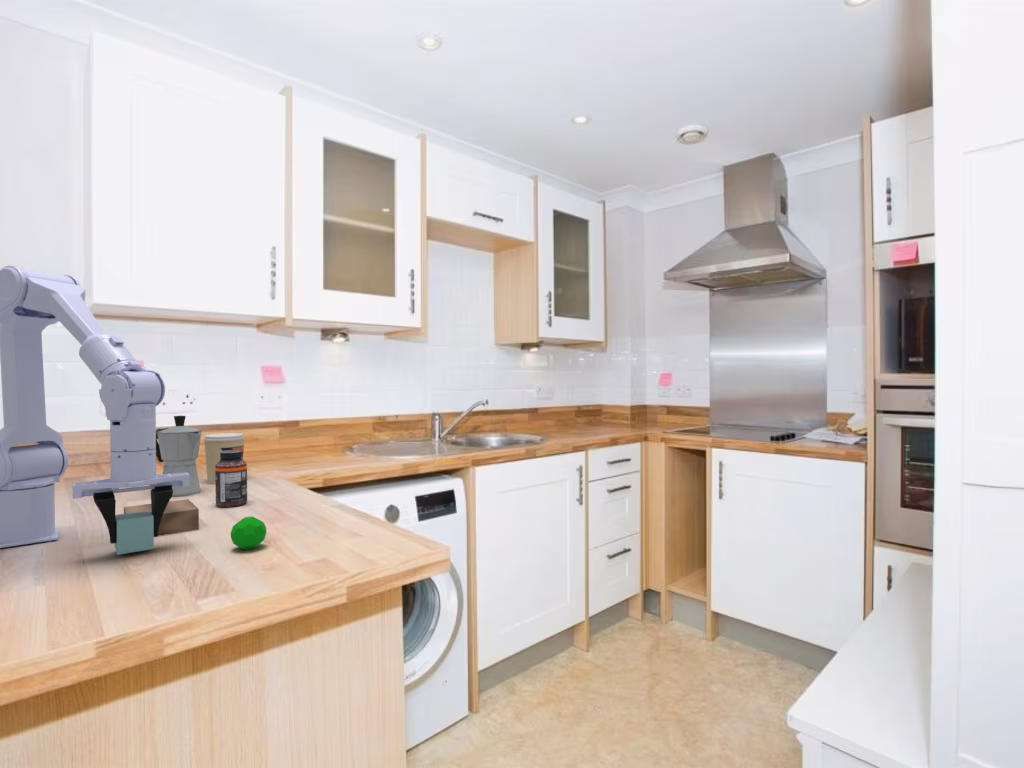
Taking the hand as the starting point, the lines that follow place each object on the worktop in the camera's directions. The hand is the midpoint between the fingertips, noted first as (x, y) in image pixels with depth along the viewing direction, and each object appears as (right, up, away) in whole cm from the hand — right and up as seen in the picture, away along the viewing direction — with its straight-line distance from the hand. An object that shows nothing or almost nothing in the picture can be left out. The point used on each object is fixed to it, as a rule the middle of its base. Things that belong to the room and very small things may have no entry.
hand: (134, 538), depth 83 cm
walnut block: (-4, -2, +13) cm, 14 cm away
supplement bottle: (-1, -2, +31) cm, 31 cm away
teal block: (0, -1, 0) cm, 1 cm away
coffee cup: (-17, -2, +58) cm, 60 cm away
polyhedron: (+17, -2, +2) cm, 17 cm away
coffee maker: (-20, -2, +43) cm, 48 cm away
